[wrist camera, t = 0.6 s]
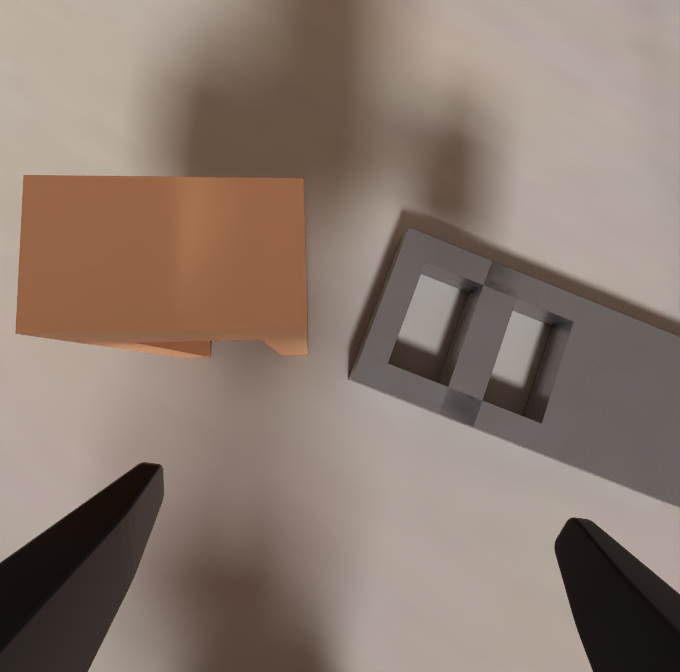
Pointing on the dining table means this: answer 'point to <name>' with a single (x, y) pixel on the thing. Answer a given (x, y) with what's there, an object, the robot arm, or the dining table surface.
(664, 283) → the dining table surface
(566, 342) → the gray slotted base
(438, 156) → the dining table surface
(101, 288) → the clip
